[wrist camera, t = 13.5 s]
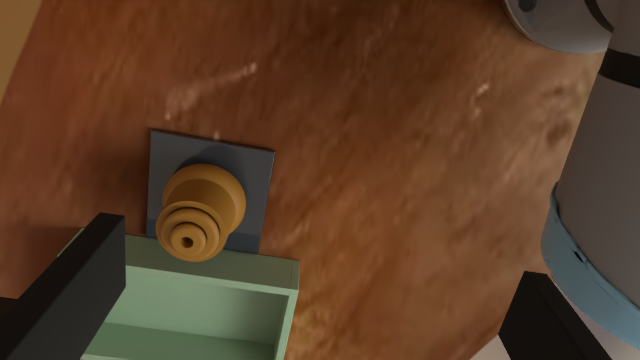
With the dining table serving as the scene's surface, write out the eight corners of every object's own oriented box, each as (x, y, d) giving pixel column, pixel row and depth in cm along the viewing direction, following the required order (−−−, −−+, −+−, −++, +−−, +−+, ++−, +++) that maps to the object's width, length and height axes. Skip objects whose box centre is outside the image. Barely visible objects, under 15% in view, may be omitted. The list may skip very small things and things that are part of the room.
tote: (299, 260, 46) (298, 290, 42) (280, 348, 51) (278, 383, 46) (81, 227, 44) (56, 255, 39) (83, 322, 49) (61, 357, 44)
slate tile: (275, 150, 41) (275, 152, 40) (258, 250, 45) (257, 253, 45) (152, 128, 40) (150, 130, 39) (147, 233, 44) (145, 236, 44)
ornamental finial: (262, 209, 43) (198, 243, 44) (217, 145, 40) (150, 183, 41) (253, 256, 35) (176, 295, 37) (197, 182, 33) (117, 227, 34)
